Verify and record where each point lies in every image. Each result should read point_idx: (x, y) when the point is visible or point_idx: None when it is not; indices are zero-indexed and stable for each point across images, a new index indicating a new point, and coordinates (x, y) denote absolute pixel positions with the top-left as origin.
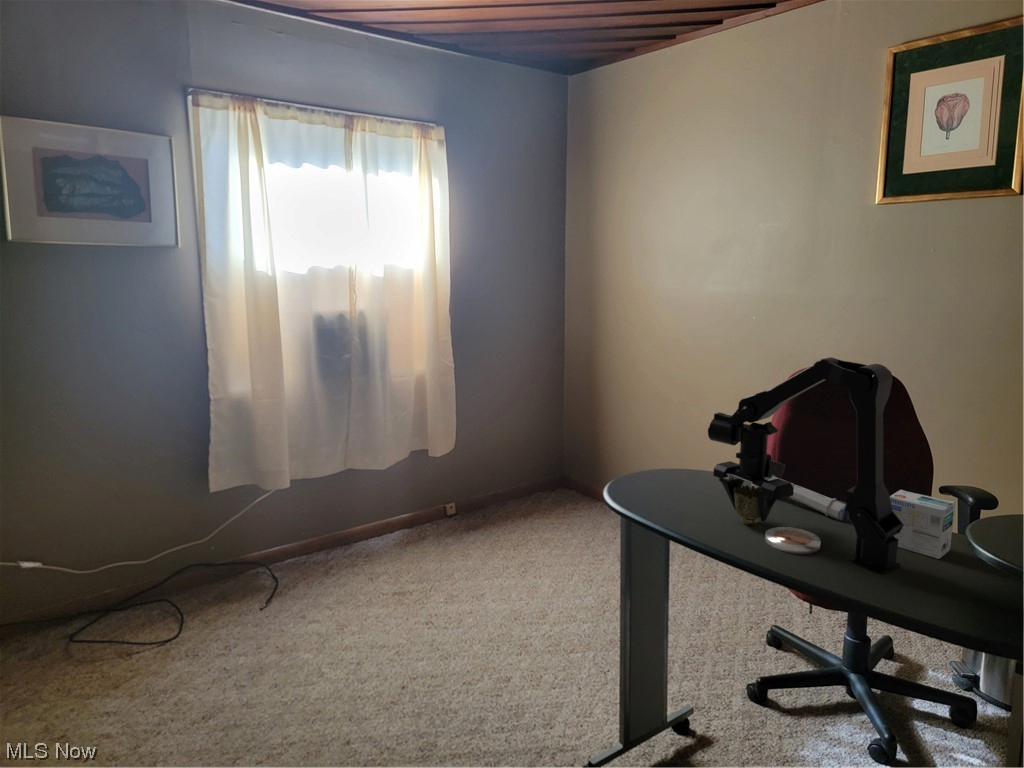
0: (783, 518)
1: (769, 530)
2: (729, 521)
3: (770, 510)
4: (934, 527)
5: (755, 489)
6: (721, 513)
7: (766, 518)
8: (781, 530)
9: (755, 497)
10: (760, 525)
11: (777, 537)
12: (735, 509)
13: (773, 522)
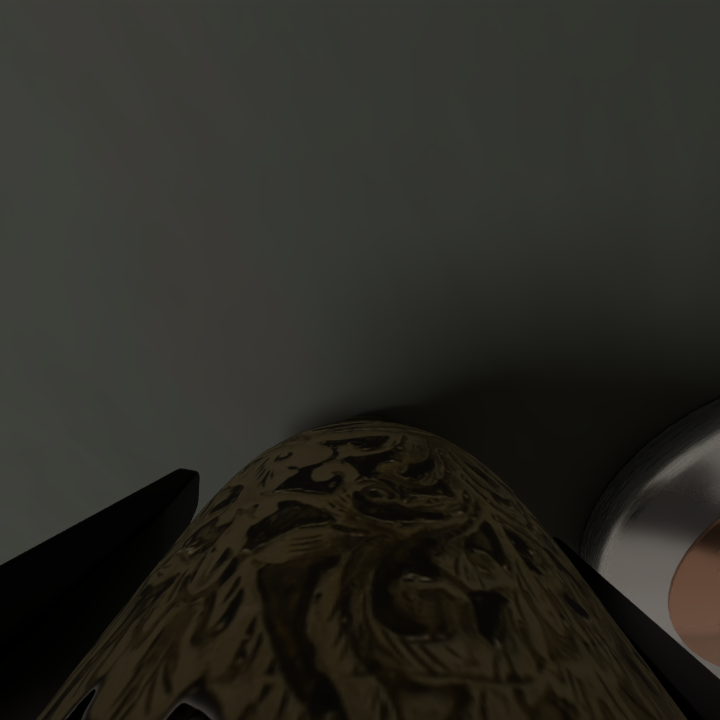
0: (564, 91)
1: (618, 586)
2: None
3: (692, 658)
4: None
5: (224, 708)
6: (101, 449)
7: (575, 554)
8: (714, 539)
9: (307, 514)
10: (458, 437)
11: (715, 649)
12: (192, 502)
13: (518, 295)
